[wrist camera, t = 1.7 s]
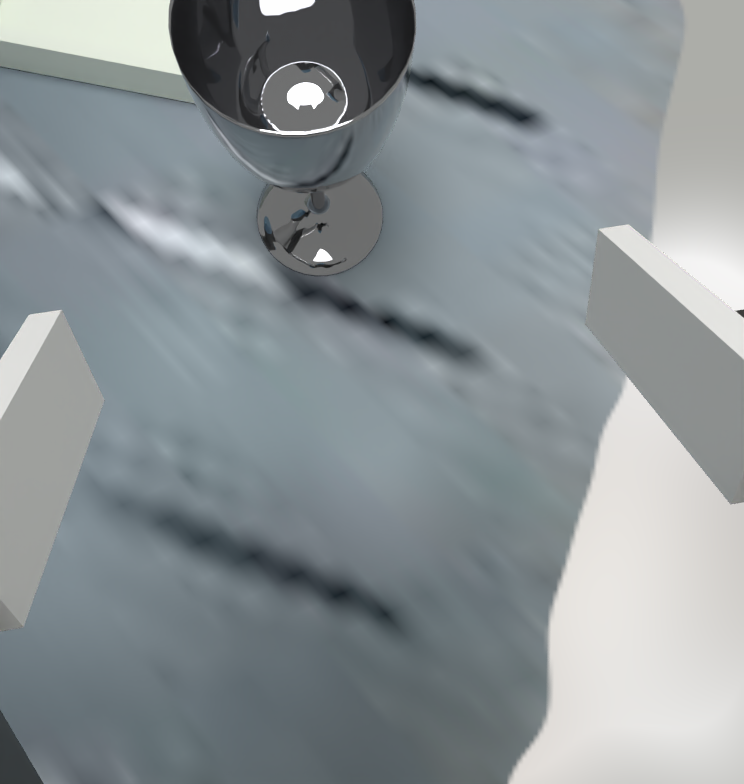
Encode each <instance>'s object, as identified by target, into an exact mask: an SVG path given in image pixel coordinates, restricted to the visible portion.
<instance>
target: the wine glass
mask: <svg viewBox="0 0 744 784" xmlns="http://www.w3.org/2000/svg"><path fill="white" fill-rule="evenodd" d="M168 29H169V35H170V40H171V46H172V50H173V53H174V56H175V58H176V61H177V63H178V66H179V69H180V71H181V74H182V76H183V79H184V81H185V83H186V86H187V88H188V90H189V93H190V95H191V96H192V98H193V100H194V102H195V104H196V106H197V108H198V110H199V112H200V114H201V115H202V117H203V119H204V120H205V122H206V124H207V125H208V127H209V128H210V130H211V131H212V133H213V134H214V135H215V137H216V138H217V139H218V141H219V142H220V143H221V145H222V146H223V147H224V148H225V149H226V150H227V152H228V153H229V154H230V155H231V156H232V157H233V158H234V159H235V160H236V161H237V162H238V163H239V164H240V165H241V166H242V167H243V168H244V169H246V170H247V171H248V172H249V173H251V174H252V175H253V176H255V177H256V178H258V179H260V180H262V181H264V182H265V183H267V184H266V186H265V188H264V189H263V191H262V194H261V196H260V199H259V203H258V208H257V224H258V229H259V233H260V236H261V238H262V241H263V243H264V244H265V246H266V248H267V249H268V251H269V252H270V253H271V254H272V255H273V256H274V258H275V259H276V260H278V261H279V262H280V263H282V264H283V265H284V266H286V267H288V268H290V269H291V270H293V271H296V272H299V273H302V274H305V275H312V276H329V275H334V274H338V273H341V272H344V271H347V270H349V269H351V268H352V267H354V266H356V265H357V264H359V263H360V262H361V261H362V260H363V259H365V258H366V257H367V255H368V254H369V253H370V252H371V251H372V249H373V248H374V246H375V244H376V243H377V241H378V238H379V236H380V233H381V230H382V223H383V208H382V203H381V199H380V196H379V194H378V192H377V189H376V188H375V186H374V185H373V183H372V181H371V180H370V179H369V178H368V177H367V176H366V175H365V174H364V173H363V171H364V170H365V169H366V168H367V167H368V166H369V165H370V164H371V163H372V162H373V161H374V160H375V158H376V157H377V156H378V155H379V153H380V151H381V150H382V148H383V146H384V144H385V143H386V141H387V139H388V138H389V136H390V134H391V132H392V131H393V128H394V126H395V123H396V121H397V118H398V115H399V113H400V110H401V107H402V104H403V102H404V99H405V96H406V91H407V86H408V82H409V77H410V72H411V65H412V59H413V52H414V44H415V36H416V13H415V4H414V0H170V4H169V18H168Z"/></svg>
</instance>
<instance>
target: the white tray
mask: <svg viewBox="0 0 744 784" xmlns="http://www.w3.org/2000/svg"><path fill="white" fill-rule="evenodd" d="M169 4H170V0H0V66H1V67H6V68H12V69H17V70H22V71H27V72H33V73H38V74H43V75H48V76H53V77H59V78H64V79H69V80H74V81H80V82H85V83H90V84H95V85H101V86H106V87H111V88H116V89H122V90H127V91H132V92H137V93H142V94H148V95H153V96H158V97H163V98H169V99H174V100H179V101H184V102H190V103H195V102H194V100H193V98H192V96H191V95H190V93H189V90H188V88H187V86H186V83H185V81H184V79H183V76H182V74H181V71H180V69H179V66H178V63H177V61H176V58H175V56H174V53H173V50H172V46H171V40H170V35H169V29H168V18H169Z"/></svg>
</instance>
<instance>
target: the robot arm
mask: <svg viewBox="0 0 744 784" xmlns="http://www.w3.org/2000/svg"><path fill="white" fill-rule="evenodd" d="M585 325H586V326H587V327H588V328H589V330H590V331H591V332H592V333H593V335H594V336H595V337H596V338H597V340H598V341H599V342H600V343H601V345H602V346H603V347H604V348H605V349H606V351H607V352H608V353H609V354H610V356H611V357H612V358H613V359H614V361H615V362H616V363H617V364H618V366H619V367H620V368H621V369H622V371H623V372H624V373H625V374H626V375H627V377H628V378H629V379H630V380H631V382H632V383H633V384H634V385H635V387H636V388H637V389H638V390H639V391H640V393H641V394H642V395H643V397H644V398H645V399H646V400H647V401H648V403H649V404H650V405H651V406H652V407H653V409H654V410H655V411H656V413H657V414H658V415H659V416H660V418H661V419H662V420H663V421H664V422H665V424H666V425H667V426H668V427H669V429H670V430H671V431H672V432H673V434H674V435H675V436H676V437H677V439H678V440H679V441H680V442H681V444H682V445H683V446H684V447H685V448H686V450H687V451H688V452H689V453H690V454H691V456H692V457H693V458H694V459H695V461H696V462H697V463H698V465H699V466H700V467H701V468H702V469H703V471H704V472H705V473H706V474H707V476H708V477H709V478H710V479H711V481H712V482H713V483H714V484H715V486H716V487H717V488H718V489H719V491H721V493H722V494H723V495H724V497H725V498H726V499H727V500H728V502H729V503H730V504H736V503H741V502H744V310H738V311H735V310H733V309H732V308H731V307H730V306H728V305H727V304H726V303H725V302H724V301H722V300H721V299H720V298H719V297H717V296H716V295H715V294H714V293H712V292H711V291H710V290H709V289H707V288H706V287H705V286H704V285H703V284H701V283H700V282H699V281H698V280H696V279H695V278H694V277H693V276H691V275H690V274H689V273H688V272H686V271H685V270H684V269H683V268H681V267H680V266H679V265H678V264H677V263H675V262H674V261H673V260H672V259H670V258H669V257H668V256H667V255H665V254H664V253H663V252H661V251H660V250H659V249H658V248H656V247H655V246H654V245H653V244H652V243H651V242H649V241H648V240H647V239H646V238H644V237H643V236H642V235H641V234H639V233H638V232H637V231H636V230H635V229H633V228H632V227H631V226H630V225H622V226H615V227H609V228H602V229H598V236H597V243H596V250H595V257H594V265H593V272H592V279H591V286H590V293H589V301H588V308H587V315H586V322H585ZM103 403H104V398H103V396H102V394H101V392H100V390H99V387H98V385H97V383H96V381H95V379H94V377H93V375H92V373H91V371H90V368H89V366H88V364H87V362H86V360H85V358H84V356H83V354H82V352H81V349H80V347H79V345H78V343H77V341H76V339H75V337H74V335H73V333H72V330H71V328H70V326H69V324H68V322H67V320H66V318H65V316H64V314H63V311H62V310H57V311H51V312H44V313H37V314H31V315H29V316H28V317H27V319H26V320H25V322H24V323H23V325H22V327H21V328H20V330H19V331H18V333H17V334H16V336H15V338H14V339H13V341H12V342H11V344H10V345H9V347H8V349H7V350H6V352H5V353H4V355H3V356H2V358H1V360H0V631H6V630H11V629H17V628H23V627H24V625H25V622H26V619H27V616H28V614H29V611H30V608H31V605H32V602H33V600H34V597H35V594H36V591H37V588H38V585H39V583H40V580H41V577H42V574H43V571H44V569H45V566H46V563H47V560H48V557H49V555H50V552H51V549H52V546H53V543H54V541H55V538H56V535H57V532H58V529H59V527H60V524H61V521H62V518H63V515H64V513H65V510H66V507H67V504H68V501H69V499H70V496H71V493H72V490H73V487H74V485H75V482H76V479H77V476H78V473H79V471H80V468H81V465H82V462H83V459H84V457H85V454H86V451H87V448H88V445H89V443H90V440H91V437H92V434H93V431H94V429H95V426H96V423H97V420H98V417H99V414H100V412H101V409H102V406H103ZM0 784H43V782H42V780H41V779H40V777H39V775H38V773H37V772H36V770H35V768H34V767H33V765H32V763H31V762H30V760H29V758H28V756H27V755H26V753H25V751H24V750H23V748H22V746H21V745H20V743H19V741H18V739H17V738H16V736H15V734H14V733H13V731H12V729H11V728H10V726H9V724H8V722H7V721H6V719H5V717H4V716H3V714H2V712H1V711H0Z"/></svg>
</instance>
